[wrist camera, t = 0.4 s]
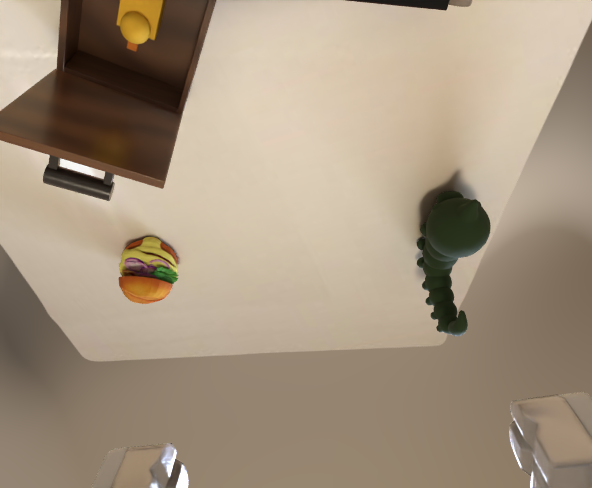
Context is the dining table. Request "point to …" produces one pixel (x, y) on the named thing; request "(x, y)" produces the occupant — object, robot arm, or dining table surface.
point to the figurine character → (421, 3)
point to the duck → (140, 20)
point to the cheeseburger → (147, 270)
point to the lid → (91, 133)
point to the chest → (127, 63)
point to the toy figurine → (450, 253)
